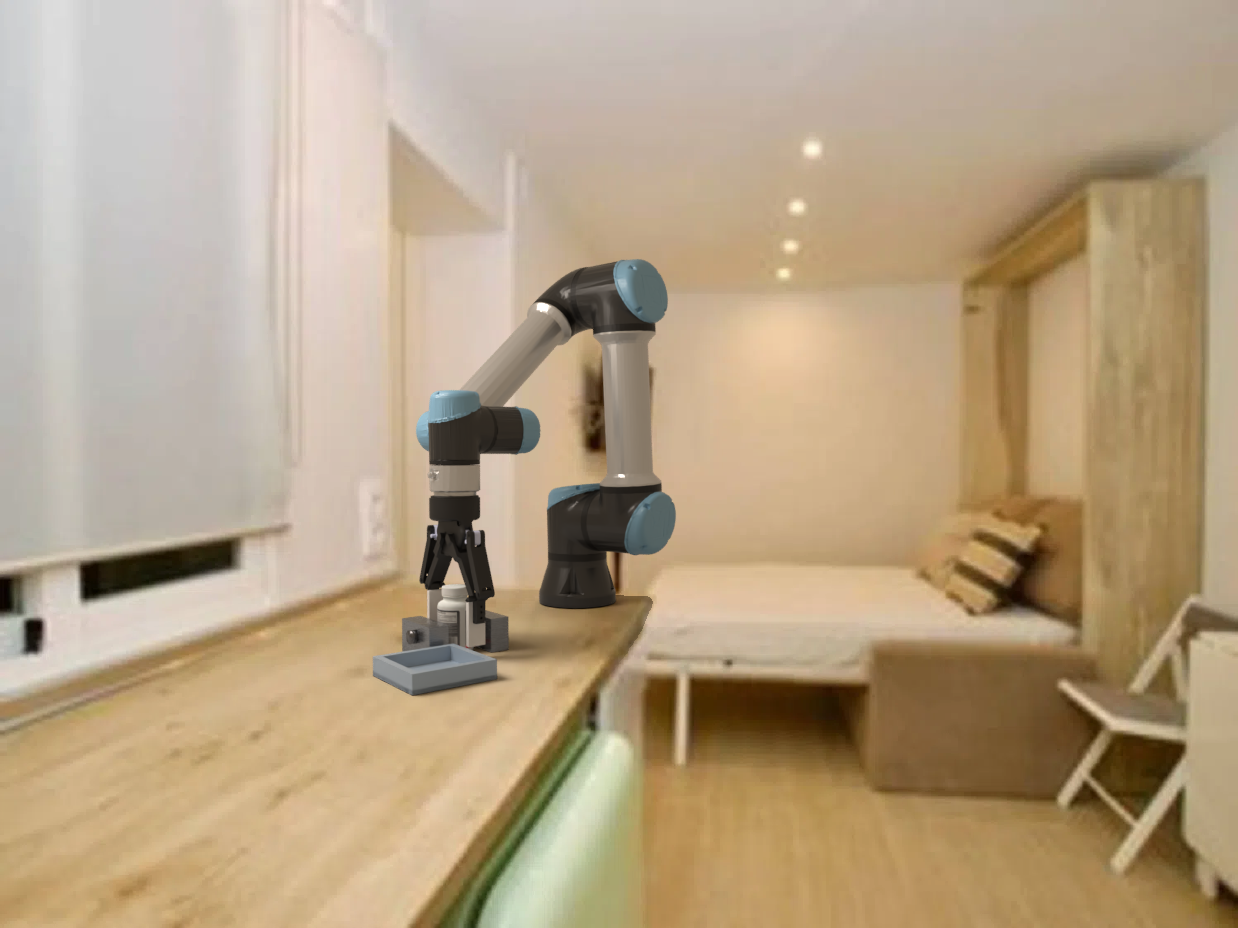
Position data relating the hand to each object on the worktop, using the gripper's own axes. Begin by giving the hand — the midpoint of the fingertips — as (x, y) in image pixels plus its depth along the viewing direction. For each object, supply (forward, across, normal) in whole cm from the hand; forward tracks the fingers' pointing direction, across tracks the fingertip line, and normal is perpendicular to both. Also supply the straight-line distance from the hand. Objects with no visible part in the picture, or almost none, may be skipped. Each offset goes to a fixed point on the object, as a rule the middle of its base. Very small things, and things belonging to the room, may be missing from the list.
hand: (455, 638), depth 130 cm
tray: (+2, +12, -10) cm, 15 cm away
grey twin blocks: (+2, 0, 0) cm, 2 cm away
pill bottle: (+2, 0, 0) cm, 2 cm away
